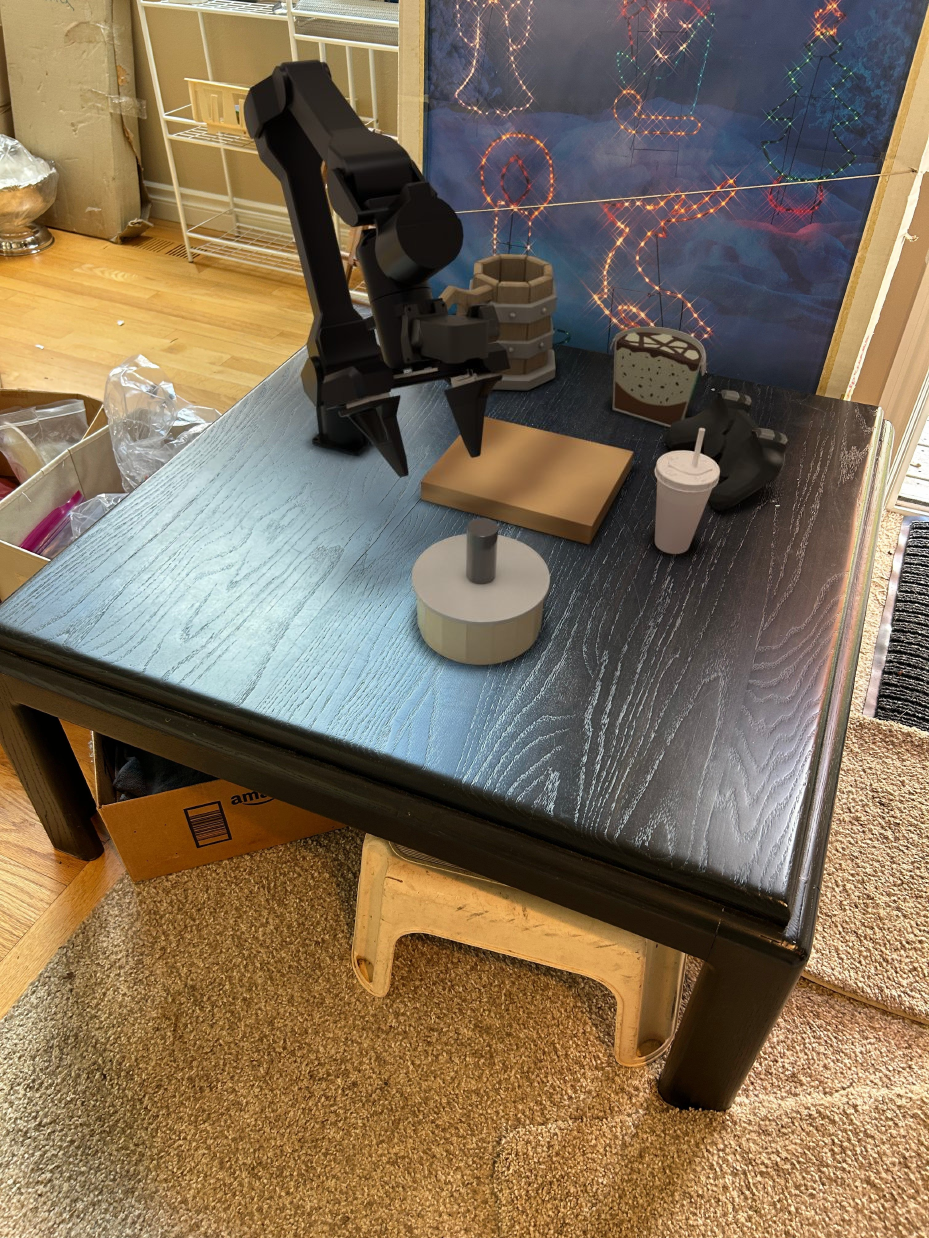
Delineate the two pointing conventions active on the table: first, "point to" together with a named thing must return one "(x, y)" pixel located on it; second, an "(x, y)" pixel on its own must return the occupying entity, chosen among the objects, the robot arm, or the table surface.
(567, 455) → the board
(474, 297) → the tankard
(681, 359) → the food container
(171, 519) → the table surface
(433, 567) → the lid
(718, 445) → the game controller
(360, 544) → the table surface
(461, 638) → the tin
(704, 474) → the smoothie
